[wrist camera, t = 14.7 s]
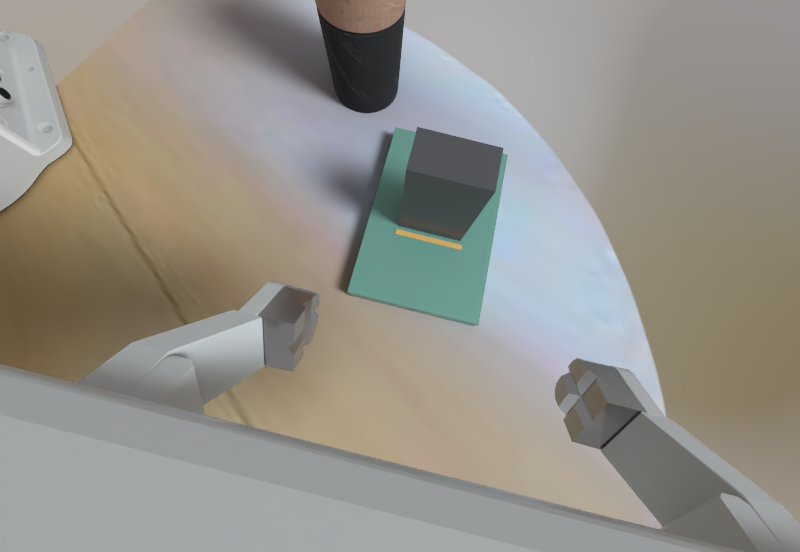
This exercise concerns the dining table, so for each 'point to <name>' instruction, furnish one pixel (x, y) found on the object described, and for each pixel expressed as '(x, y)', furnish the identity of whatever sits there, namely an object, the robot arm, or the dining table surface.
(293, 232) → the dining table surface
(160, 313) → the dining table surface
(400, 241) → the teal plate
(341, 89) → the travel mug
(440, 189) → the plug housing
